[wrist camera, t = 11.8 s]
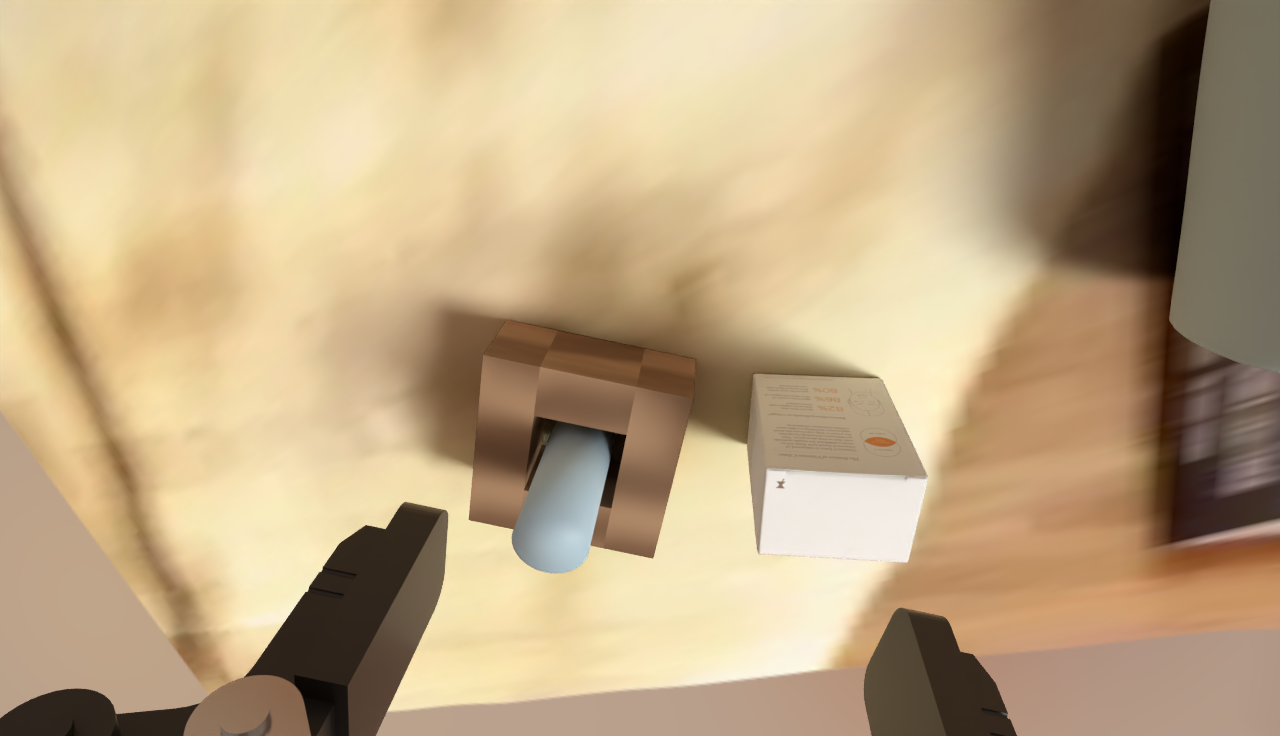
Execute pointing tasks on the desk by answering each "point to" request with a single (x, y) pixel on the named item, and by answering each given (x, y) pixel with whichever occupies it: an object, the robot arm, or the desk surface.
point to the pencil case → (1234, 191)
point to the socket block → (588, 396)
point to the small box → (832, 469)
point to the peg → (564, 499)
